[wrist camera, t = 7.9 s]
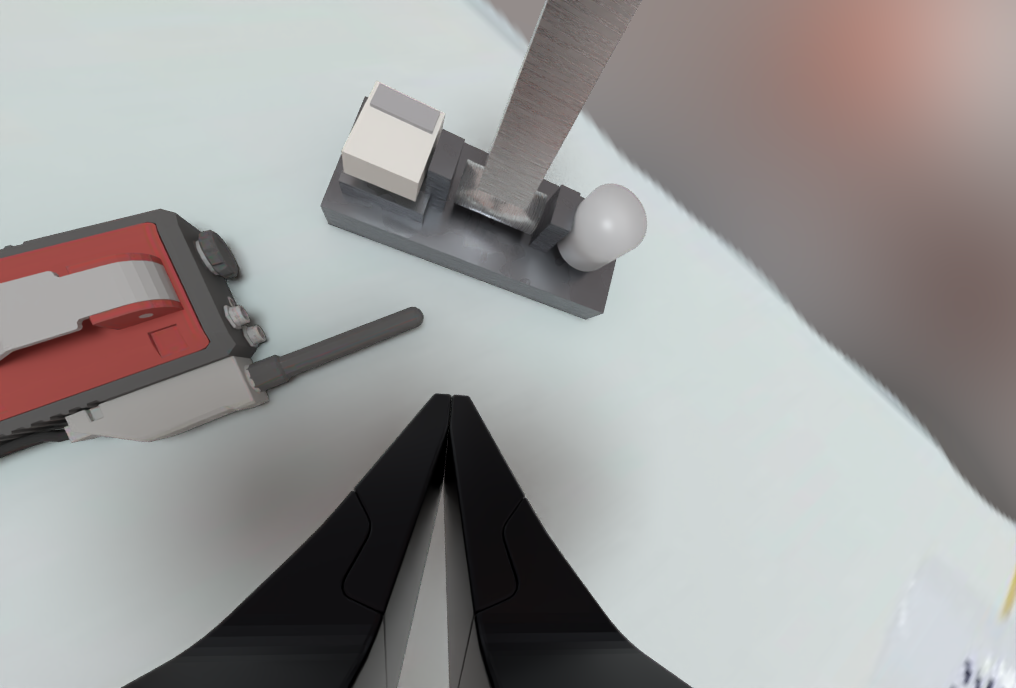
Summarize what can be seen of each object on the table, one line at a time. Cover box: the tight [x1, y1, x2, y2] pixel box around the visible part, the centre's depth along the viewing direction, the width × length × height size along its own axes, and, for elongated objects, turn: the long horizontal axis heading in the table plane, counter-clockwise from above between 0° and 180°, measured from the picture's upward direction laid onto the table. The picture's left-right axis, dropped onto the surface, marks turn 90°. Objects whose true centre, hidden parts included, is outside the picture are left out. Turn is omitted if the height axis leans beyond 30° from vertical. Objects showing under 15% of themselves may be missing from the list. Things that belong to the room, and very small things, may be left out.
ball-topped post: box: [453, 0, 642, 234], centre depth 13 cm, size 3×4×13 cm
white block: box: [341, 81, 445, 201], centre depth 16 cm, size 4×3×1 cm
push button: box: [557, 184, 647, 272], centre depth 18 cm, size 3×3×3 cm
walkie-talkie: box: [0, 209, 423, 458], centre depth 15 cm, size 9×4×20 cm
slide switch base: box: [321, 96, 616, 319], centre depth 19 cm, size 6×15×5 cm, turn 73°
